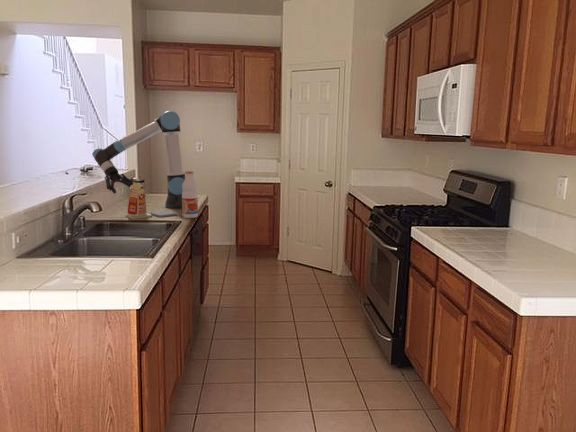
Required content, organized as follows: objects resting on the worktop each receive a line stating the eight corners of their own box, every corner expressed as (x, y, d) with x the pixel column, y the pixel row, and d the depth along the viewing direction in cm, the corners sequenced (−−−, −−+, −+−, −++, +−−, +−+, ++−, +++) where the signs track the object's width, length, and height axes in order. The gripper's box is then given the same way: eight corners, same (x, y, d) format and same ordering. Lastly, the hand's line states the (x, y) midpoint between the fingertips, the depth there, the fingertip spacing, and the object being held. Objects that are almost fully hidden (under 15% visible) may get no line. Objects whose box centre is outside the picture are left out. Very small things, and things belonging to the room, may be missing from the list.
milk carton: (126, 215, 294) (125, 182, 291) (136, 212, 303) (135, 181, 299) (139, 216, 291) (138, 183, 288) (148, 214, 300) (147, 181, 296)
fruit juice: (189, 215, 306) (188, 170, 301) (201, 216, 302) (200, 171, 297) (179, 217, 298) (178, 171, 293) (191, 218, 293) (190, 172, 288)
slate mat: (168, 212, 313) (168, 210, 312) (177, 215, 304) (177, 213, 304) (150, 214, 305) (150, 212, 305) (159, 217, 296) (159, 215, 296)
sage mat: (143, 214, 306) (143, 212, 306) (151, 216, 297) (151, 214, 297) (124, 216, 298) (124, 214, 298) (133, 218, 289) (133, 217, 289)
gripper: (122, 172, 316) (139, 197, 312) (90, 175, 295) (108, 201, 290) (127, 164, 313) (145, 189, 308) (96, 166, 291) (114, 193, 287)
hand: (127, 195), depth 299 cm, fingers open, 13 cm apart
